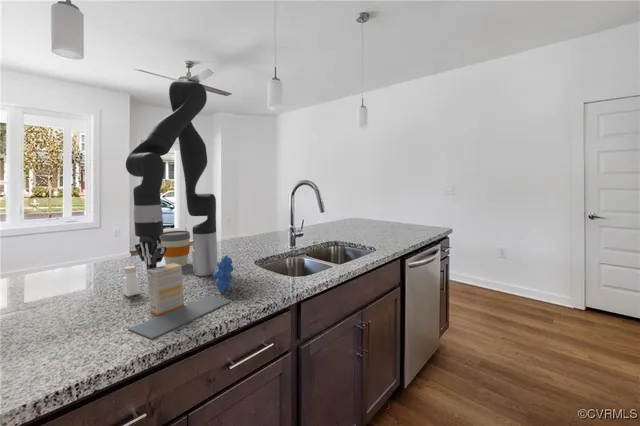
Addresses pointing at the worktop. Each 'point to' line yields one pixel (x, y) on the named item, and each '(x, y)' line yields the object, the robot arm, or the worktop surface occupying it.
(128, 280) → the pepper shaker
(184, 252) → the reusable coffee cup
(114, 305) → the worktop surface
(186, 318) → the rubber mat
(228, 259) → the grapes
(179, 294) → the supplement box
